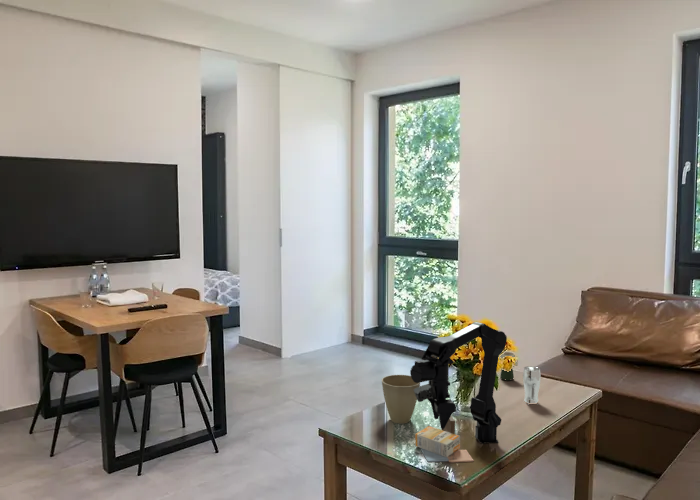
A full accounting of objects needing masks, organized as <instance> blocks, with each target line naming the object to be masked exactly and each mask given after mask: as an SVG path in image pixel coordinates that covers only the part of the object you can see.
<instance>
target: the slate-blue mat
mask: <svg viewBox="0 0 700 500" xmlns="http://www.w3.org/2000/svg"><path fill="white" fill-rule="evenodd" d="M420 450H421V451H422V454H423V456H424V458H425V459H426V462H427V463H435V462H438V463H439V462H449V459H448V458H447V457H444V456H442V455H439V454H436V453H433V452H431V451H428V450H425V449H422V448H420ZM450 456H451V455H450ZM450 456H449V457H450ZM453 456H454V457H455V455H454V454H453ZM454 457H453V458H454Z"/></svg>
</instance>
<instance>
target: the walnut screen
mask: <svg viewBox="0 0 700 500" xmlns="http://www.w3.org/2000/svg"><path fill="white" fill-rule="evenodd" d="M441 430H443V431H446V432H449V433H452V434H455V435H456V420H455V418H454V417H453V415H451V417H450V418H449V420H448V422H447V424H446V426H445V428H444V429H441Z"/></svg>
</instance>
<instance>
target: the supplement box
mask: <svg viewBox="0 0 700 500" xmlns="http://www.w3.org/2000/svg"><path fill="white" fill-rule="evenodd" d="M414 438H415V439H414V440H415V447H417V448H419V449H421V448H422V449H425V450H428V451H431V452H433V453H436V454H439V455H442V456H444V457H448V456H450V455H451V454H453V453H454V452H456V451H457V450H461V435H458V434H456V433H455V434H452V433H449V432H446V431H443V430H442V429H441V428H440V429H439V428H436V427H434V426H430V425H428V426H426V427H425V428H424V429H422V430H420V431H418V432H416V433H414Z"/></svg>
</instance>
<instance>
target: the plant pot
mask: <svg viewBox="0 0 700 500" xmlns="http://www.w3.org/2000/svg"><path fill="white" fill-rule="evenodd" d="M381 385H382V392H383V397H384V402H385V405H386V409H387V413H388V415H389V416H388V417H389V418H390V420H391V422H392V423H395V424H397V425H398V424H399V425H400V424H401V425H402V424H404V425H405V424H408V423H410V421H411V419H412V416H413V414H414V411H415V409H416V405H417V401H418V400H417V399H416V396H415V393H414V389H415V388H418V387H420V386H421V382H420V383H415V382H414V381H413V380H412V378H411V375H407V374H391V375H390V374H389V375H387V376H386V375H385V376H384V377H382V378H381Z"/></svg>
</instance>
